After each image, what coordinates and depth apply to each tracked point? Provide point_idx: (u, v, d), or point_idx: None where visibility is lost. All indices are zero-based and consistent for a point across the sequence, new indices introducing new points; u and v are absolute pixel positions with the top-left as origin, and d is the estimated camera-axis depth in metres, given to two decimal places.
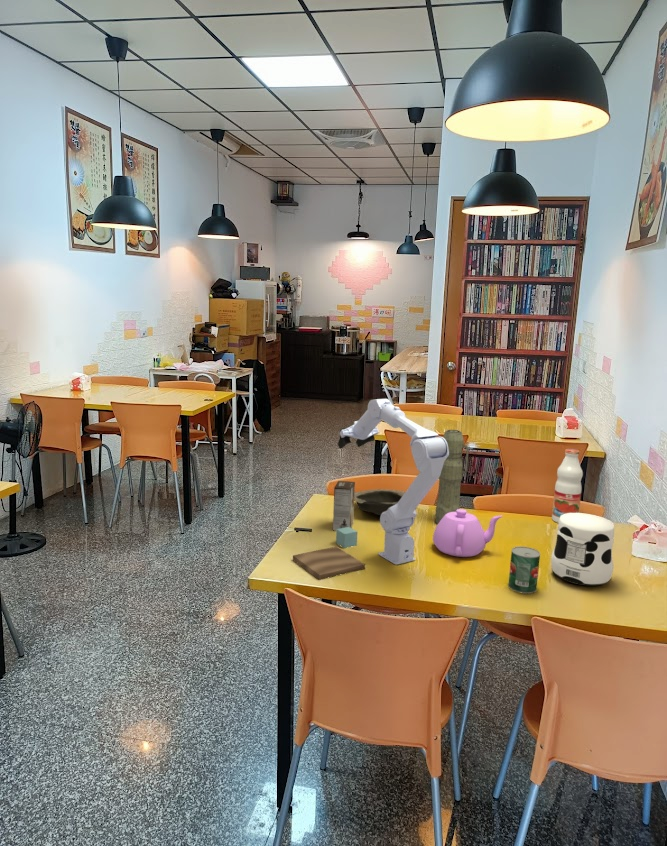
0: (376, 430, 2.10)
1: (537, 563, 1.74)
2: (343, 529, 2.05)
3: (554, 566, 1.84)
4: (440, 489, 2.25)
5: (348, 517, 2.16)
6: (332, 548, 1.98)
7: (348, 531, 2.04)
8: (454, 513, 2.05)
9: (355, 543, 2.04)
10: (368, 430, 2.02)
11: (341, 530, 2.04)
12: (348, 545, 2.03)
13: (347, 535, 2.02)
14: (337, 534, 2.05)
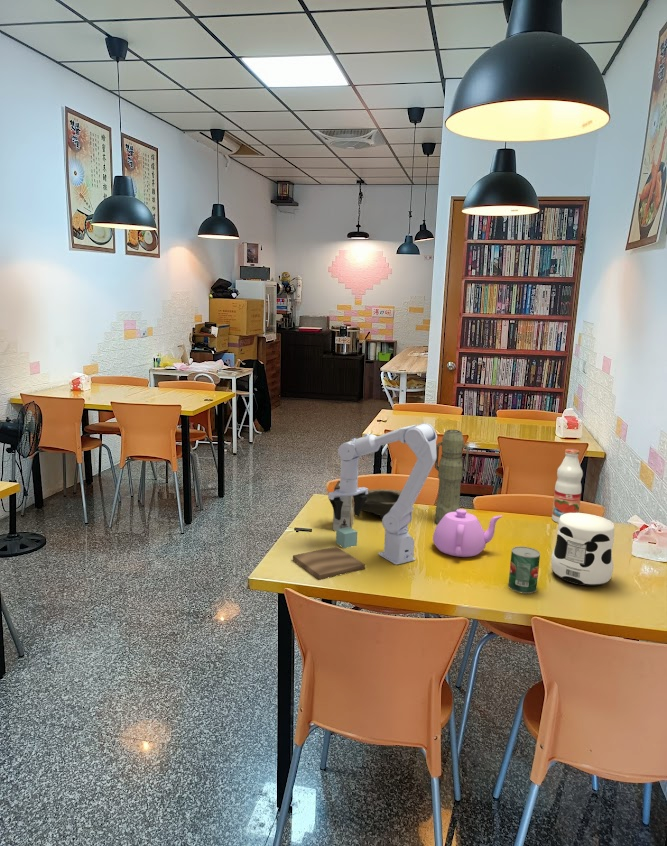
0: (365, 488, 2.05)
1: (537, 563, 1.74)
2: (343, 529, 2.05)
3: (554, 566, 1.84)
4: (440, 489, 2.25)
5: (348, 517, 2.16)
6: (332, 548, 1.98)
7: (348, 531, 2.04)
8: (454, 513, 2.05)
9: (355, 543, 2.04)
10: (352, 479, 1.99)
11: (341, 530, 2.04)
12: (348, 545, 2.03)
13: (347, 535, 2.02)
14: (337, 534, 2.05)
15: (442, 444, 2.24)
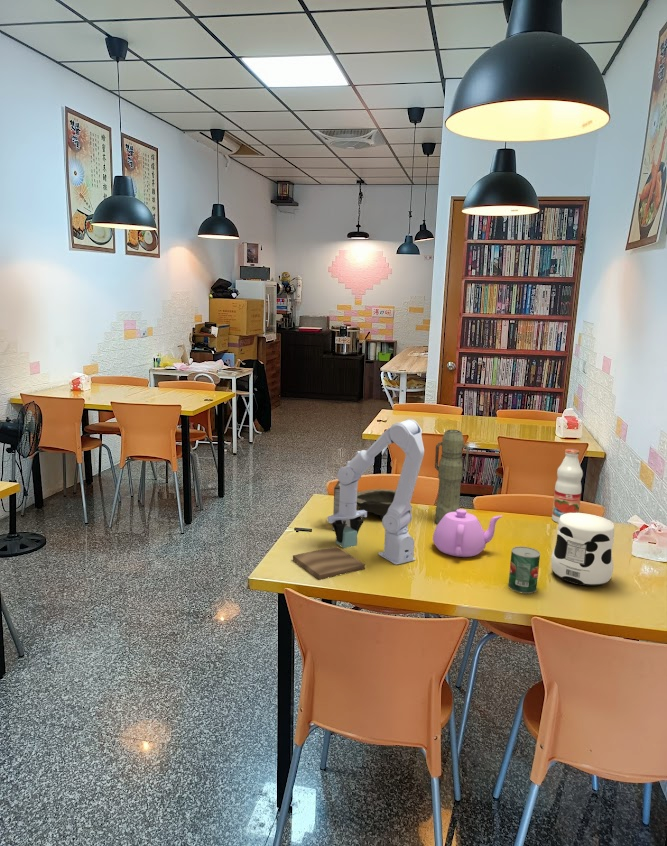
0: (364, 511, 2.07)
1: (537, 563, 1.74)
2: None
3: (554, 566, 1.84)
4: (440, 489, 2.25)
5: None
6: (332, 548, 1.98)
7: (348, 531, 2.04)
8: (454, 513, 2.05)
9: (355, 542, 2.04)
10: (351, 503, 2.00)
11: None
12: (348, 545, 2.03)
13: (346, 535, 2.02)
14: None
15: (442, 444, 2.24)
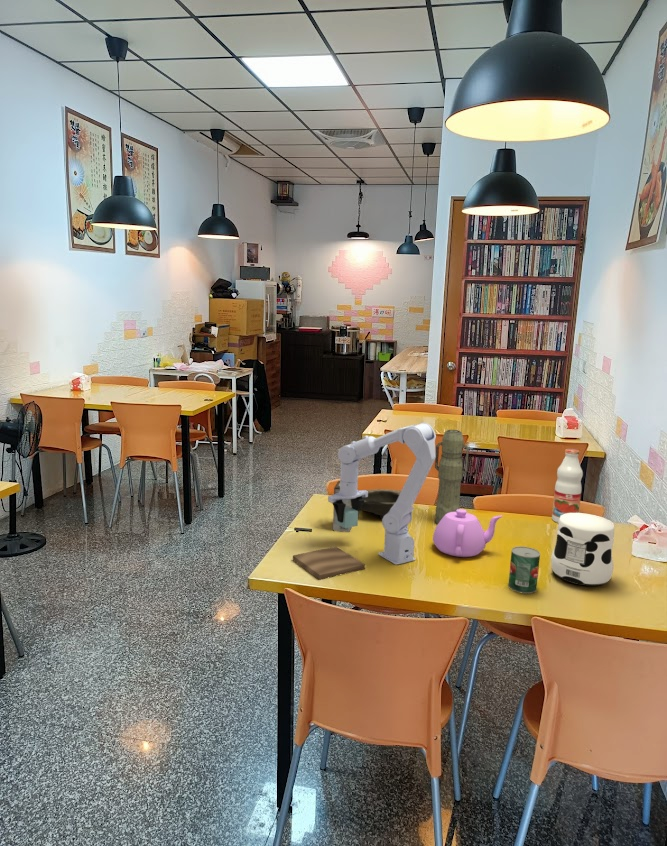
0: (365, 491, 2.06)
1: (537, 563, 1.74)
2: (344, 509, 2.04)
3: (554, 566, 1.84)
4: (440, 489, 2.25)
5: None
6: (332, 548, 1.98)
7: (349, 511, 2.02)
8: (454, 513, 2.05)
9: (355, 523, 2.03)
10: (351, 482, 1.99)
11: None
12: (349, 525, 2.02)
13: (347, 515, 2.01)
14: None
15: (442, 444, 2.24)
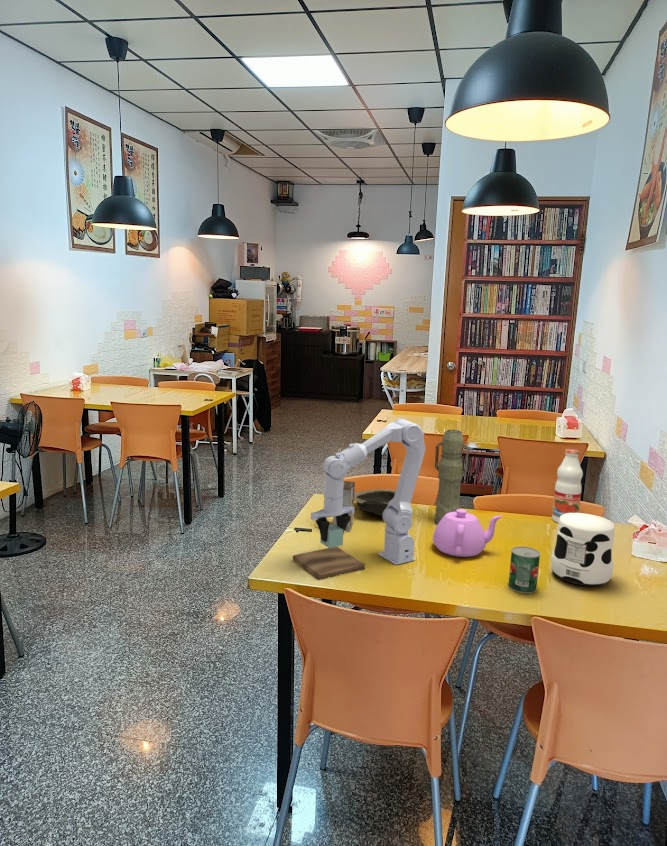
0: (351, 508, 1.90)
1: (537, 563, 1.74)
2: (328, 527, 1.88)
3: (554, 566, 1.84)
4: (440, 489, 2.25)
5: None
6: (332, 548, 1.98)
7: (333, 529, 1.86)
8: (454, 513, 2.05)
9: (340, 542, 1.87)
10: (336, 498, 1.83)
11: None
12: (333, 544, 1.86)
13: (331, 534, 1.85)
14: None
15: (442, 444, 2.24)
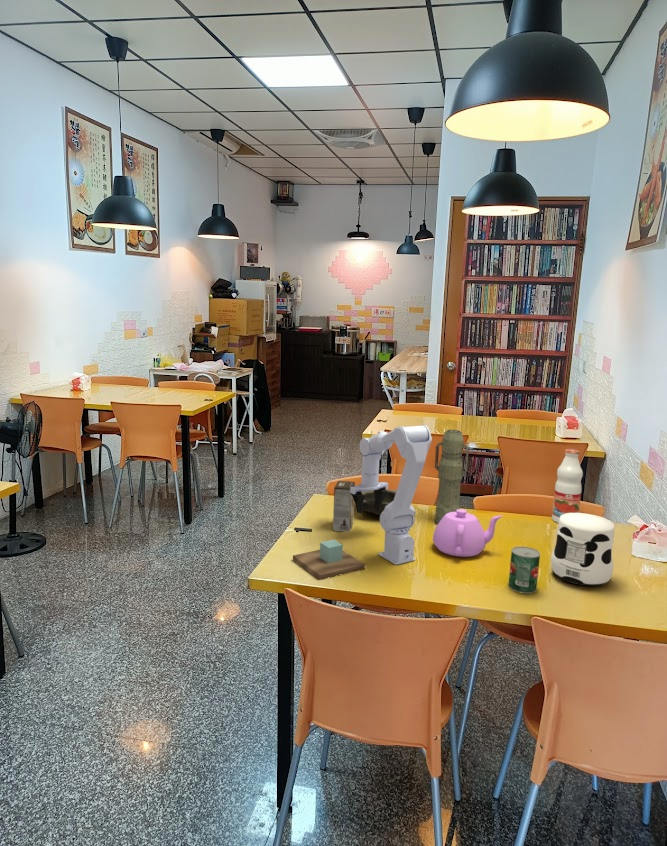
0: (385, 483, 2.12)
1: (537, 563, 1.74)
2: (327, 542, 1.89)
3: (554, 566, 1.84)
4: (440, 489, 2.25)
5: (348, 517, 2.16)
6: None
7: (332, 544, 1.87)
8: (454, 513, 2.05)
9: (340, 557, 1.88)
10: (373, 474, 2.06)
11: (325, 543, 1.88)
12: (333, 560, 1.87)
13: (331, 549, 1.86)
14: (321, 548, 1.89)
15: (442, 444, 2.24)
